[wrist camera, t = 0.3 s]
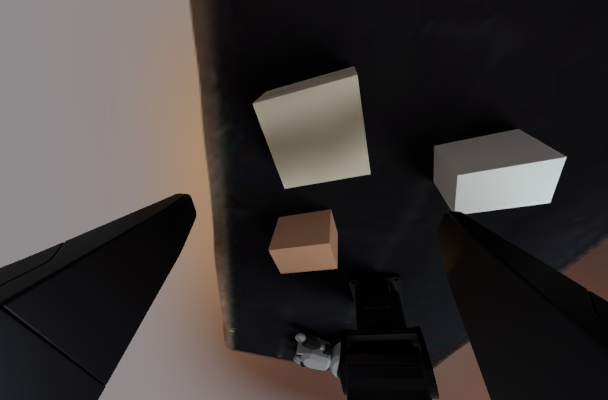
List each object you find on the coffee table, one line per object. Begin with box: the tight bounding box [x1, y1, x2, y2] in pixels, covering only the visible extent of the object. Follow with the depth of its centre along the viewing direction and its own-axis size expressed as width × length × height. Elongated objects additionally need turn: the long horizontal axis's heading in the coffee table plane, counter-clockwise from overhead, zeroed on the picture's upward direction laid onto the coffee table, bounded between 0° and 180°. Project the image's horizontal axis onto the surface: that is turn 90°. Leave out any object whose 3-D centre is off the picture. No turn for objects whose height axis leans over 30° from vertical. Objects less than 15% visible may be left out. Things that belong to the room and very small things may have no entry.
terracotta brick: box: [269, 209, 338, 274], centre depth 25 cm, size 4×6×5 cm, turn 106°
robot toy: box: [293, 333, 341, 379], centre depth 42 cm, size 12×4×15 cm
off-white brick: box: [434, 129, 566, 214], centre depth 18 cm, size 4×6×5 cm, turn 106°
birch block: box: [253, 66, 371, 189], centre depth 19 cm, size 7×7×4 cm
